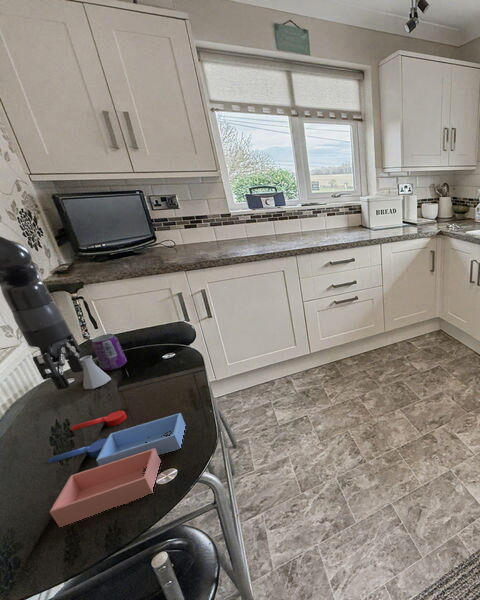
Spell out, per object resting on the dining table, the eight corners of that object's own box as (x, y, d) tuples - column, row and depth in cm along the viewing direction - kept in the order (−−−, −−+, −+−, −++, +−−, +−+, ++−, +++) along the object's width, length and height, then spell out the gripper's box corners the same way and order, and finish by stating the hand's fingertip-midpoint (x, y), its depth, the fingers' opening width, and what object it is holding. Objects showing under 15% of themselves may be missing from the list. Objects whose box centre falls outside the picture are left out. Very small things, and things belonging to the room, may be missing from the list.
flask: (91, 391, 106) (78, 365, 102) (78, 388, 108) (65, 362, 105) (116, 378, 112) (104, 353, 108) (103, 375, 115) (92, 351, 111)
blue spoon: (45, 473, 75) (41, 466, 74) (55, 459, 79) (50, 452, 78) (109, 453, 80) (105, 446, 79) (115, 441, 83) (111, 434, 83)
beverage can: (131, 360, 124) (119, 331, 120) (120, 370, 118) (107, 340, 113) (111, 362, 123) (98, 334, 119) (98, 373, 117) (84, 343, 112)
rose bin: (60, 528, 62) (49, 512, 61) (79, 490, 70) (70, 475, 68) (153, 494, 68) (145, 478, 66) (161, 462, 75) (155, 447, 74)
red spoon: (69, 439, 85) (65, 432, 85) (76, 428, 89) (72, 422, 88) (124, 422, 90) (121, 416, 89) (128, 413, 94) (126, 407, 93)
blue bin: (104, 475, 73) (96, 460, 72) (117, 448, 81) (109, 433, 79) (180, 449, 79) (174, 435, 77) (186, 426, 87) (180, 412, 85)
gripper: (37, 316, 83) (65, 370, 89) (2, 338, 71) (38, 399, 77) (74, 309, 86) (99, 362, 92) (47, 330, 74) (78, 389, 80)
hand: (71, 379), depth 84 cm, fingers open, 8 cm apart
